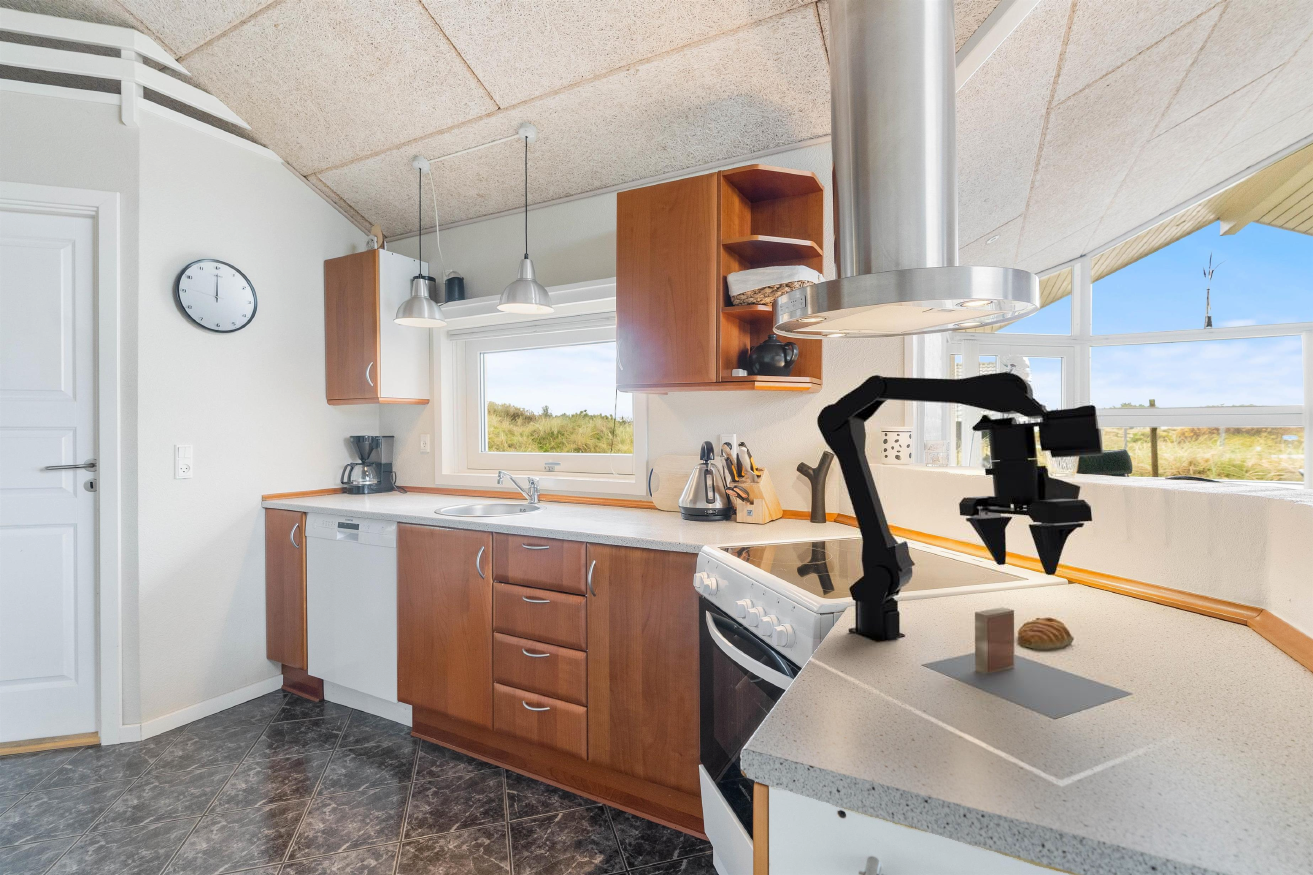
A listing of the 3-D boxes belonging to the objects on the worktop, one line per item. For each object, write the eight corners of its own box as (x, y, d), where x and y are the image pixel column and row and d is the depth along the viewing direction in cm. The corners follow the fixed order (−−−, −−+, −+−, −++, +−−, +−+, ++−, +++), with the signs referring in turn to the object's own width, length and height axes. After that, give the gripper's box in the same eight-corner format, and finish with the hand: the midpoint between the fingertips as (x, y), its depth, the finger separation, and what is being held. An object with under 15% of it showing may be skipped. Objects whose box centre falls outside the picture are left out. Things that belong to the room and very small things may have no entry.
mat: (920, 667, 81) (920, 664, 81) (994, 650, 88) (994, 647, 88) (1054, 722, 65) (1054, 718, 65) (1132, 696, 72) (1132, 693, 72)
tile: (975, 670, 79) (974, 612, 79) (1003, 663, 82) (1002, 607, 82) (987, 674, 78) (986, 615, 78) (1015, 667, 80) (1014, 610, 80)
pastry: (1056, 658, 85) (1056, 632, 85) (1006, 647, 91) (1005, 622, 91) (1075, 644, 91) (1075, 620, 91) (1027, 634, 97) (1027, 611, 97)
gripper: (1123, 454, 75) (1136, 575, 74) (1016, 459, 93) (1026, 556, 92) (1046, 458, 73) (1058, 582, 72) (953, 463, 92) (962, 561, 91)
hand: (1024, 569), depth 82 cm, fingers open, 9 cm apart
